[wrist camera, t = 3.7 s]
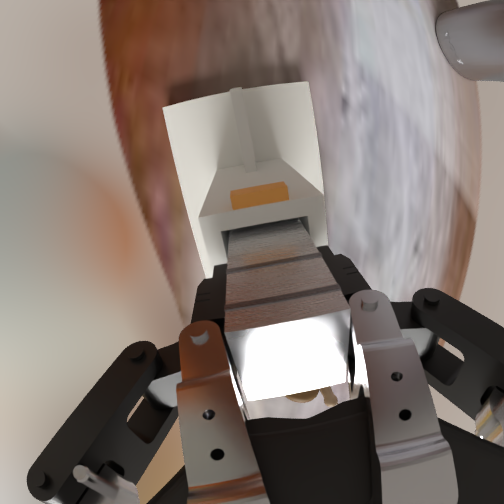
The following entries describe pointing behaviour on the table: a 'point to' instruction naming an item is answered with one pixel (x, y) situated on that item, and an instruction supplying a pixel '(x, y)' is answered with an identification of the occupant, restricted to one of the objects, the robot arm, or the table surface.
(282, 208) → the grey stand
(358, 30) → the table surface
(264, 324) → the steel bar
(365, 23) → the table surface
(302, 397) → the snail figurine
